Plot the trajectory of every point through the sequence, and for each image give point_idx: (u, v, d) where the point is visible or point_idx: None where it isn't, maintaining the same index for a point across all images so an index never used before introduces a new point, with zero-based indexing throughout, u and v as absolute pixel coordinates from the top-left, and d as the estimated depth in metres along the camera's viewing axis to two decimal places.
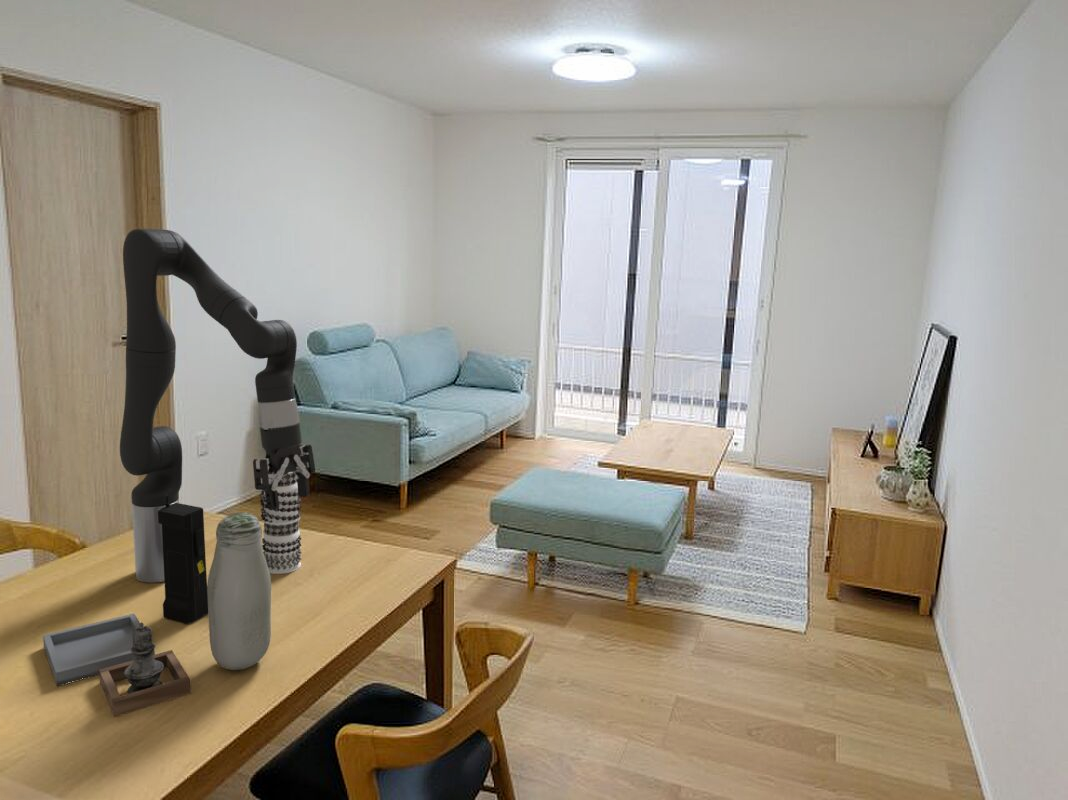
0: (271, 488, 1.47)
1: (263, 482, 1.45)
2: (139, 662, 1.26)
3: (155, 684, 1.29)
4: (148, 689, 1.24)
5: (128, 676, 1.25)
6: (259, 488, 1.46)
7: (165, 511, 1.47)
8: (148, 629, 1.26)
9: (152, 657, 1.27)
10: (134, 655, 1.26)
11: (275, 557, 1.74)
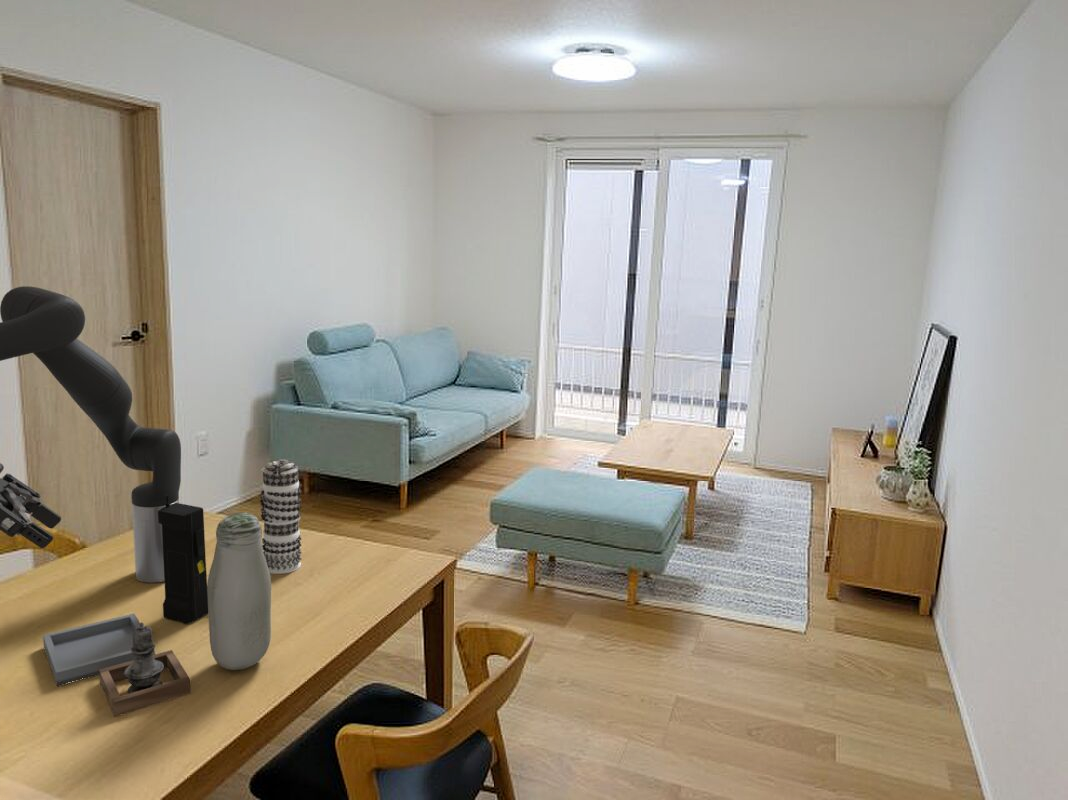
0: None
1: None
2: (139, 662, 1.26)
3: (155, 684, 1.29)
4: (148, 689, 1.24)
5: (128, 676, 1.25)
6: None
7: (165, 511, 1.47)
8: (148, 629, 1.27)
9: (152, 657, 1.27)
10: (134, 655, 1.26)
11: (275, 557, 1.74)
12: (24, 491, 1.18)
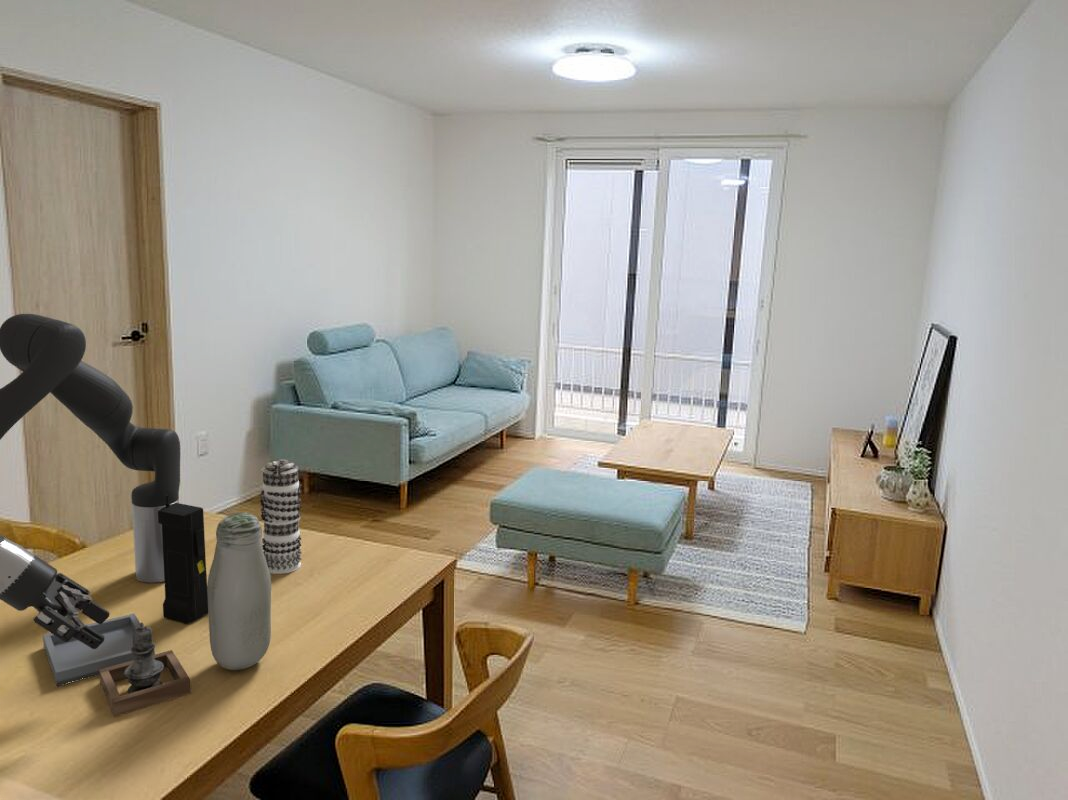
0: None
1: None
2: (139, 662, 1.26)
3: (155, 684, 1.29)
4: (148, 689, 1.24)
5: (128, 676, 1.25)
6: None
7: (165, 511, 1.47)
8: (148, 629, 1.26)
9: (152, 657, 1.27)
10: (134, 655, 1.26)
11: (275, 557, 1.74)
12: (75, 591, 1.24)
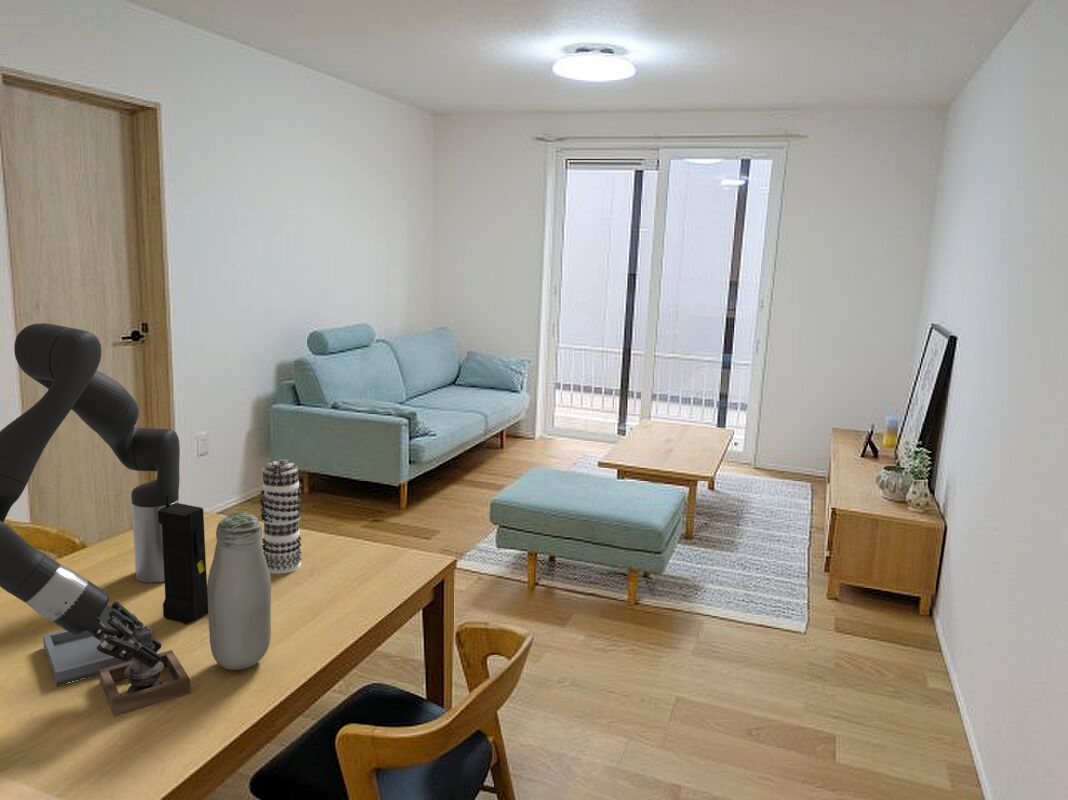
0: None
1: None
2: (139, 662, 1.26)
3: (155, 684, 1.29)
4: (148, 689, 1.24)
5: (128, 676, 1.25)
6: None
7: (165, 511, 1.47)
8: (148, 629, 1.26)
9: None
10: None
11: (275, 557, 1.74)
12: (127, 618, 1.27)
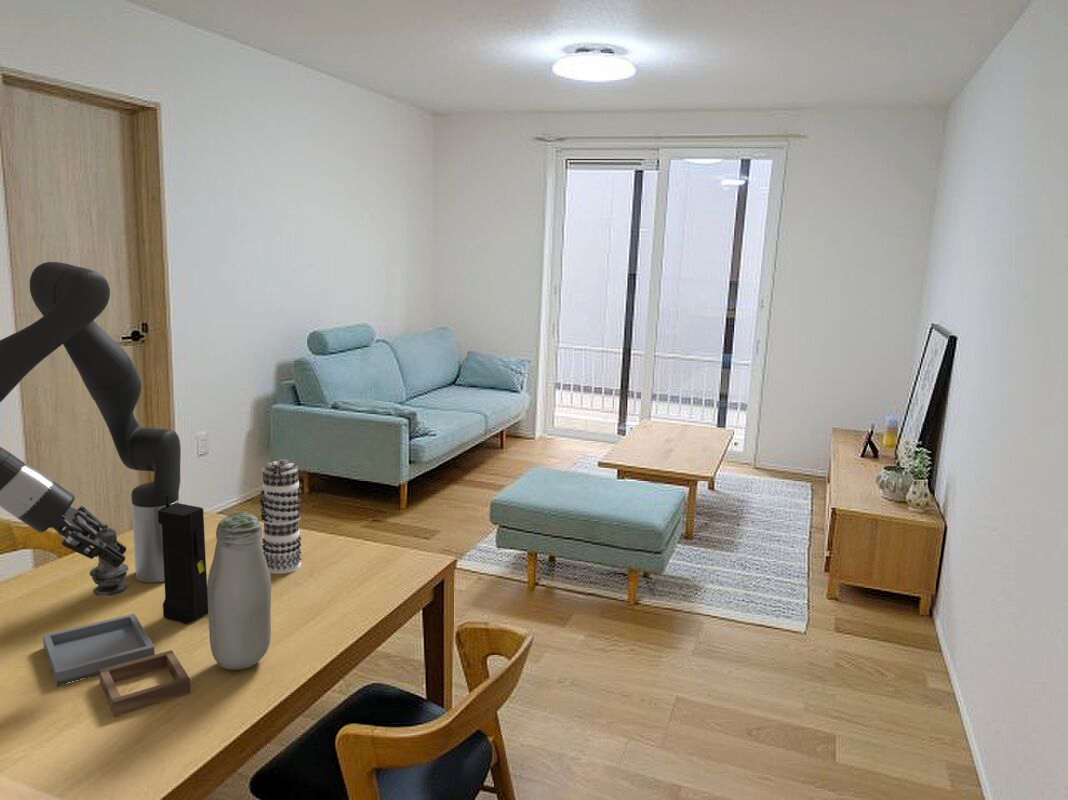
0: None
1: None
2: (104, 563, 1.30)
3: (120, 585, 1.33)
4: (148, 689, 1.24)
5: (93, 575, 1.30)
6: None
7: (165, 511, 1.47)
8: (113, 531, 1.31)
9: None
10: None
11: (275, 557, 1.74)
12: (92, 521, 1.31)
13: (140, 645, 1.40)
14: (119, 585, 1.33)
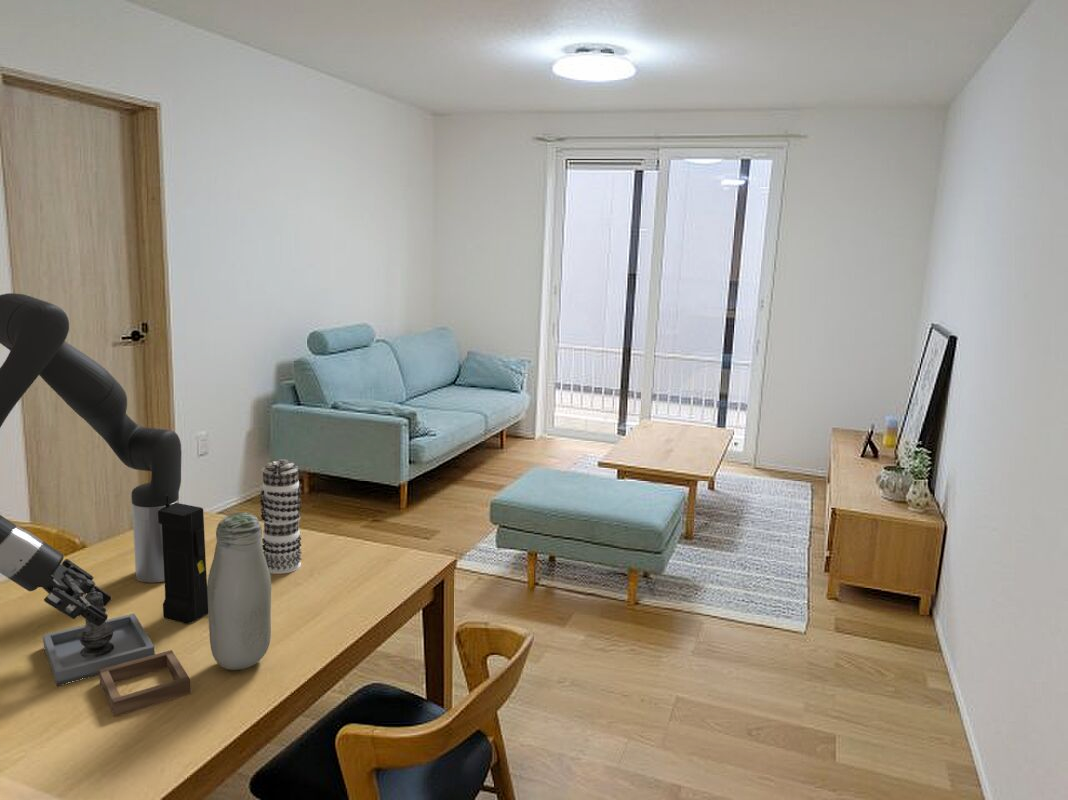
0: None
1: None
2: (91, 625, 1.35)
3: (107, 646, 1.38)
4: (148, 689, 1.24)
5: (80, 638, 1.35)
6: None
7: (165, 511, 1.47)
8: (99, 594, 1.36)
9: None
10: None
11: (275, 557, 1.74)
12: (80, 575, 1.37)
13: (140, 645, 1.40)
14: (106, 646, 1.38)
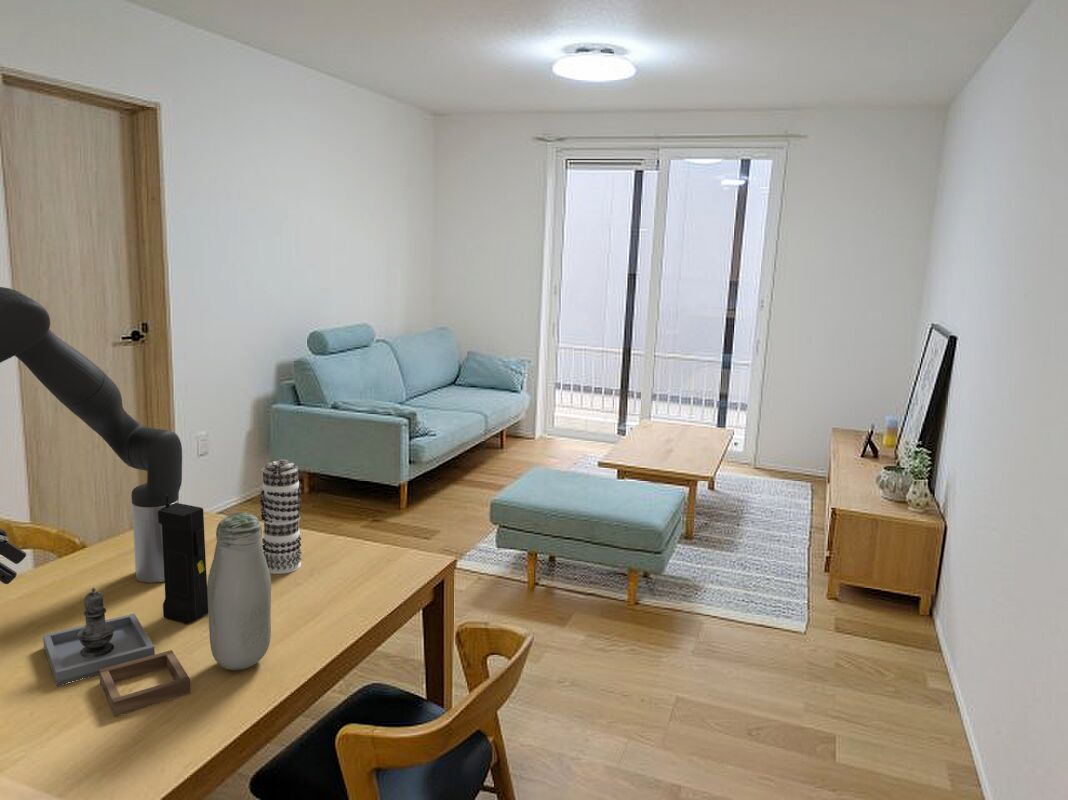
0: None
1: None
2: (91, 625, 1.35)
3: (107, 646, 1.38)
4: (148, 689, 1.24)
5: (80, 637, 1.35)
6: None
7: (165, 511, 1.47)
8: (99, 594, 1.36)
9: (103, 621, 1.37)
10: (86, 618, 1.35)
11: (275, 557, 1.74)
12: None
13: (140, 645, 1.40)
14: (106, 646, 1.38)
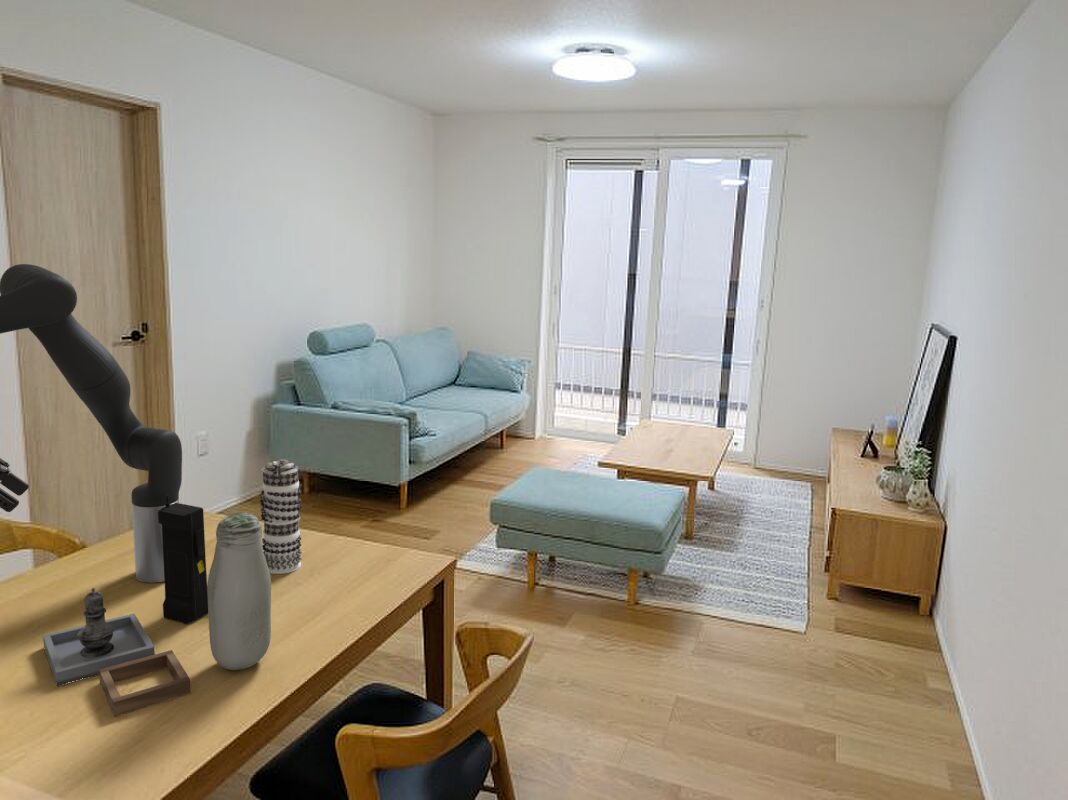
0: None
1: None
2: (91, 625, 1.35)
3: (107, 646, 1.38)
4: (148, 689, 1.24)
5: (80, 638, 1.35)
6: None
7: (165, 511, 1.47)
8: (99, 594, 1.36)
9: (103, 621, 1.37)
10: (86, 618, 1.35)
11: (275, 557, 1.74)
12: None
13: (140, 645, 1.40)
14: (106, 646, 1.38)
